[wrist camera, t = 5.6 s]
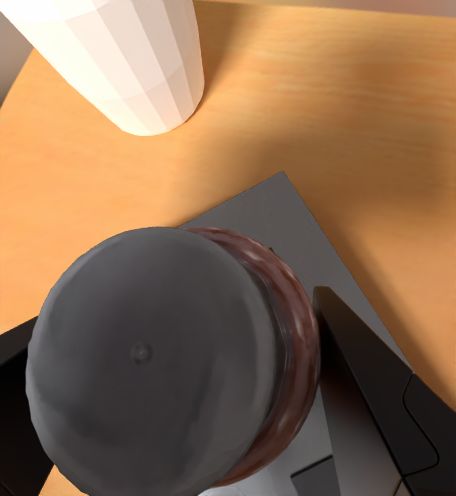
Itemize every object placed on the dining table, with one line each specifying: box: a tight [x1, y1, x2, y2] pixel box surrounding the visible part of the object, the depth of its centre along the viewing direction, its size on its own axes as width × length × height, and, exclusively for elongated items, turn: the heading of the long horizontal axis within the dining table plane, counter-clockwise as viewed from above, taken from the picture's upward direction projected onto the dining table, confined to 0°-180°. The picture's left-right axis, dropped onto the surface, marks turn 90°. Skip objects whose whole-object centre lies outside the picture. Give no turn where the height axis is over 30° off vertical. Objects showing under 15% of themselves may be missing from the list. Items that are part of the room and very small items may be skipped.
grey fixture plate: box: [177, 171, 415, 496], centre depth 17 cm, size 26×14×3 cm, turn 27°
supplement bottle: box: [26, 227, 322, 496], centre depth 10 cm, size 6×6×11 cm
